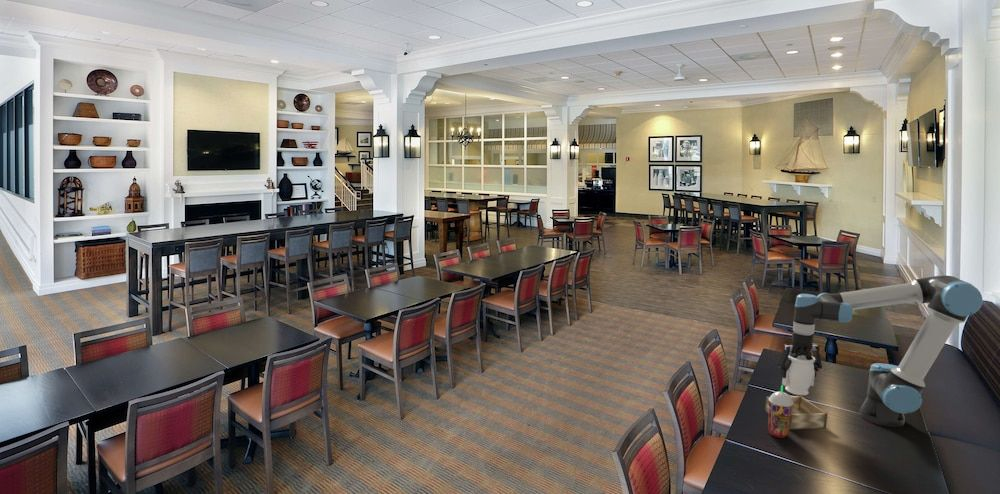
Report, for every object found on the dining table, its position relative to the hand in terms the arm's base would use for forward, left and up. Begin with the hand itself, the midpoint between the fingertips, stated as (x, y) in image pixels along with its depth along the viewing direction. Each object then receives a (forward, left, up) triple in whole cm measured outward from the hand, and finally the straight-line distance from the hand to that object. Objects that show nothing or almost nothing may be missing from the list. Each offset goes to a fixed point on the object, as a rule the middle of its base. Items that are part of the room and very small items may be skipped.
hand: (797, 384), depth 221 cm
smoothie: (+8, +17, -15) cm, 24 cm away
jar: (0, 0, -3) cm, 3 cm away
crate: (0, 0, -15) cm, 15 cm away
